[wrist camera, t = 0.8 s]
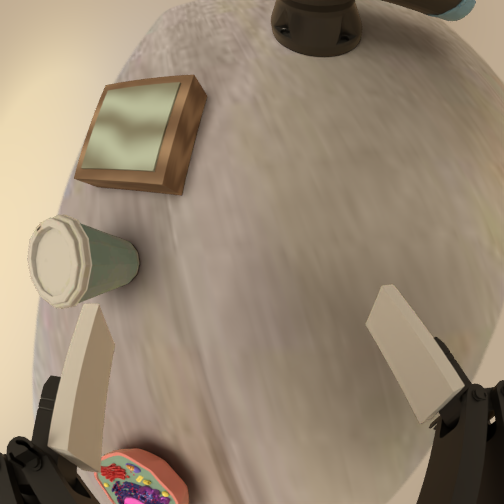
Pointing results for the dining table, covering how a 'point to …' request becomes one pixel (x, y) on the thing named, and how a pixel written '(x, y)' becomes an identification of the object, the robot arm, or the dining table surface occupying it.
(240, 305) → the dining table surface
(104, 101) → the walnut stand
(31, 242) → the disposable coffee cup
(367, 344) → the dining table surface
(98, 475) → the cell model
